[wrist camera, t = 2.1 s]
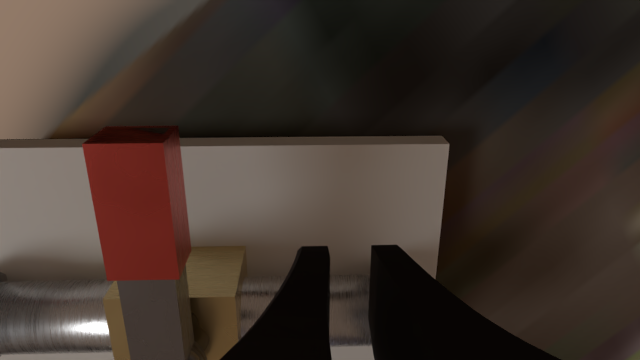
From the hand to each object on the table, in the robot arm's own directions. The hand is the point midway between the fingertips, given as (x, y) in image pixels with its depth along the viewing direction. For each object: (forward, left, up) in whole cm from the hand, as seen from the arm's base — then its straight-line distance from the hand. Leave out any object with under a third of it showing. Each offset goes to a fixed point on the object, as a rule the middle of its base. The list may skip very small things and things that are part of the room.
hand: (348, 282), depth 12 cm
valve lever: (+6, +3, -5) cm, 8 cm away
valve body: (+6, +6, -10) cm, 14 cm away
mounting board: (+6, +6, -10) cm, 14 cm away
